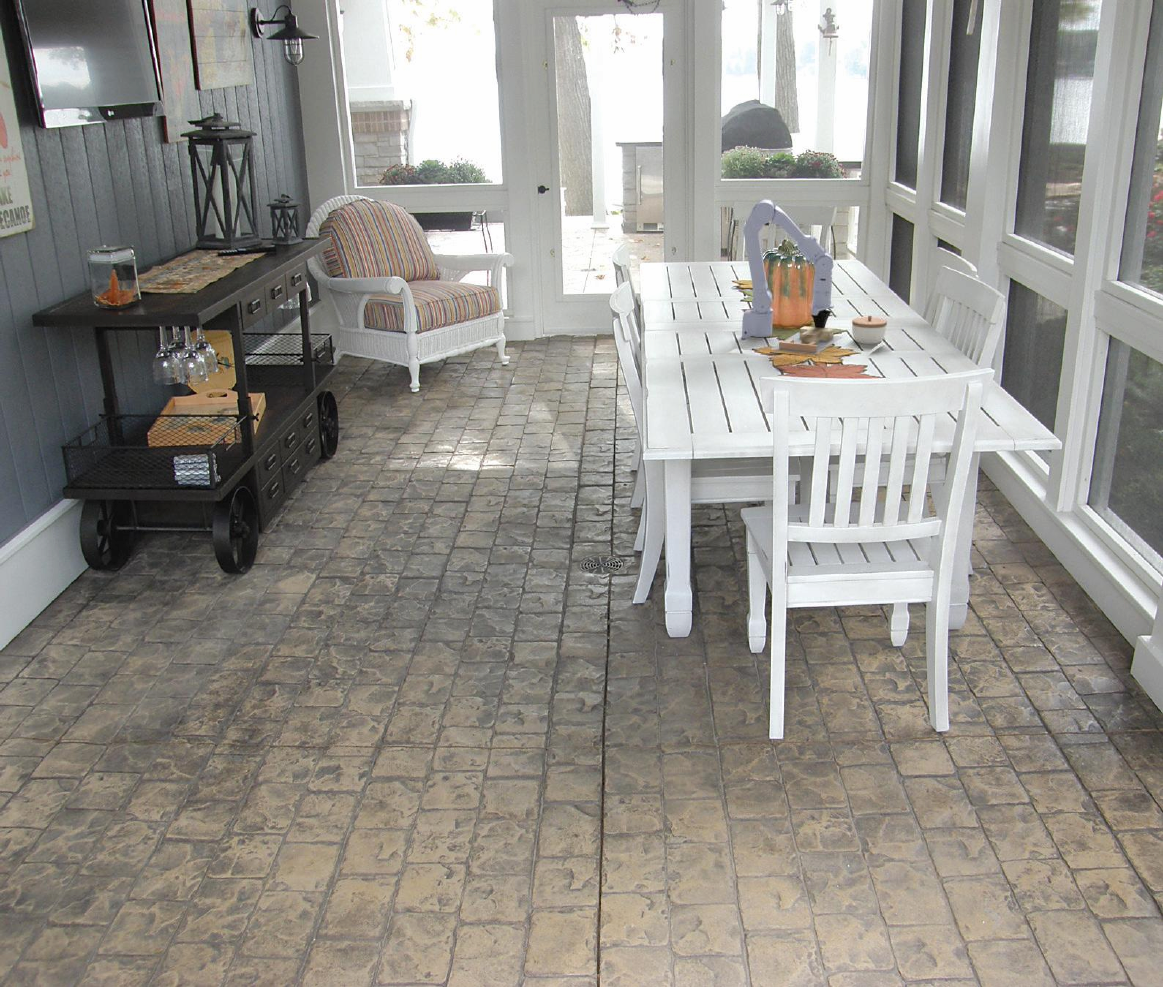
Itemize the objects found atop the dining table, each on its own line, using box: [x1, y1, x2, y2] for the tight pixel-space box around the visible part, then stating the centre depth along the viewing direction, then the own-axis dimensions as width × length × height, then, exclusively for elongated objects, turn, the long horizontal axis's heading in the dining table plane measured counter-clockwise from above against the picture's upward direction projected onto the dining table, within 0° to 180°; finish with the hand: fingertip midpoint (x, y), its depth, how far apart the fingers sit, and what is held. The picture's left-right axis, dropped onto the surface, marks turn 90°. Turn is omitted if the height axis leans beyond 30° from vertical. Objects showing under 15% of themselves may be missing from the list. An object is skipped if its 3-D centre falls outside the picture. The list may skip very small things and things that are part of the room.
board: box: [769, 331, 843, 356], centre depth 353 cm, size 15×26×3 cm, turn 150°
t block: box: [799, 325, 835, 344], centre depth 356 cm, size 10×11×3 cm
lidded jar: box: [851, 314, 888, 347], centre depth 354 cm, size 11×11×9 cm
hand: (819, 333), depth 362 cm, fingers closed
